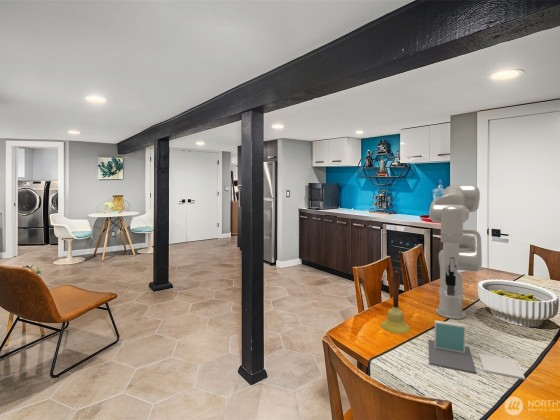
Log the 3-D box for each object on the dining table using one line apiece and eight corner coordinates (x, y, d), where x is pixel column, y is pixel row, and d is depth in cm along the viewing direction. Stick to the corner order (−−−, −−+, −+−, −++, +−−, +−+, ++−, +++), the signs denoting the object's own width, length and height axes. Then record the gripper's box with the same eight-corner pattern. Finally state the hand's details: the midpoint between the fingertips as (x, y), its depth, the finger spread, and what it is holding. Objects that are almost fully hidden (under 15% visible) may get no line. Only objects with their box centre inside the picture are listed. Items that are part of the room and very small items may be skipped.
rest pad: (478, 355, 114) (478, 353, 114) (515, 361, 109) (515, 360, 109) (484, 371, 104) (484, 369, 104) (525, 379, 99) (525, 377, 99)
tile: (434, 345, 120) (434, 320, 119) (464, 350, 116) (465, 324, 115) (434, 347, 118) (435, 322, 118) (464, 353, 114) (465, 326, 114)
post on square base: (438, 290, 129) (438, 266, 128) (460, 292, 126) (461, 268, 125) (439, 296, 122) (440, 271, 121) (463, 299, 118) (463, 273, 118)
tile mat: (428, 340, 125) (428, 339, 125) (469, 348, 119) (469, 346, 119) (429, 364, 108) (429, 362, 108) (476, 373, 102) (476, 372, 102)
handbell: (381, 331, 133) (381, 274, 131) (380, 319, 145) (380, 266, 143) (412, 335, 130) (413, 276, 128) (408, 322, 142) (409, 268, 140)
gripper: (439, 234, 131) (438, 277, 132) (442, 240, 116) (440, 289, 118) (460, 235, 128) (458, 279, 129) (465, 242, 113) (463, 291, 115)
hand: (450, 283), depth 123 cm, fingers closed on post on square base, 2 cm apart
